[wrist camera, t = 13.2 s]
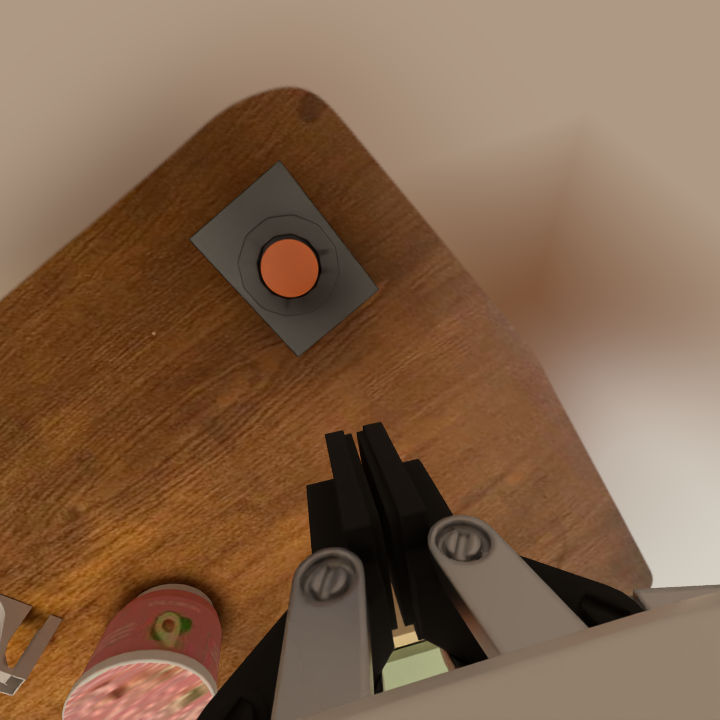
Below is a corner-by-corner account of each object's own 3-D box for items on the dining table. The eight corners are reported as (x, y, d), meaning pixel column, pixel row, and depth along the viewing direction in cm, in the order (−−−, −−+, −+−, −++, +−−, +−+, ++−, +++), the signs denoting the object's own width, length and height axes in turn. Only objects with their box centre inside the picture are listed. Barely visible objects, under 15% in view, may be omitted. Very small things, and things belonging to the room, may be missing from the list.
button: (250, 263, 26) (248, 264, 24) (292, 227, 26) (292, 226, 24) (287, 304, 27) (287, 308, 25) (327, 270, 27) (329, 272, 25)
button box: (194, 239, 28) (181, 238, 24) (279, 164, 27) (278, 153, 24) (297, 351, 31) (299, 364, 28) (374, 287, 31) (385, 292, 28)
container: (252, 619, 38) (243, 713, 31) (160, 675, 38) (129, 782, 31) (183, 551, 35) (154, 637, 27) (82, 612, 35) (25, 716, 27)
